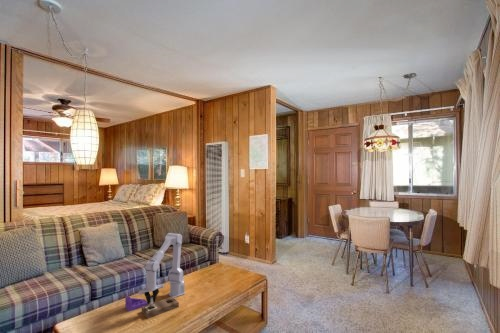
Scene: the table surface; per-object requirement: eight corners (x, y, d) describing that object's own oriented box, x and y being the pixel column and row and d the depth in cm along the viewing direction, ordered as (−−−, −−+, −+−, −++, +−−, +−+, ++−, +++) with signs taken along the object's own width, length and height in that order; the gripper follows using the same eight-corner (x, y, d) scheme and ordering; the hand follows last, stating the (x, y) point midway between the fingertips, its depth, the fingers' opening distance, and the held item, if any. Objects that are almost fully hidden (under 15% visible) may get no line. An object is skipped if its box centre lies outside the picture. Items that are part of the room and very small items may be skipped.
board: (171, 301, 175) (171, 296, 175) (178, 307, 168) (178, 302, 168) (141, 311, 162) (141, 306, 162) (147, 318, 155) (147, 313, 155)
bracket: (128, 312, 162) (128, 301, 162) (125, 307, 167) (125, 297, 167) (148, 305, 170) (148, 295, 170) (144, 301, 175) (144, 291, 175)
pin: (154, 307, 163) (153, 294, 163) (154, 309, 160) (153, 296, 160) (149, 308, 162) (148, 295, 162) (149, 310, 159) (148, 298, 159)
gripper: (160, 275, 169) (159, 296, 169) (137, 281, 159) (136, 304, 159) (164, 279, 164) (164, 300, 164) (141, 285, 154) (140, 308, 154)
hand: (151, 302), depth 161 cm, fingers closed on pin, 3 cm apart
